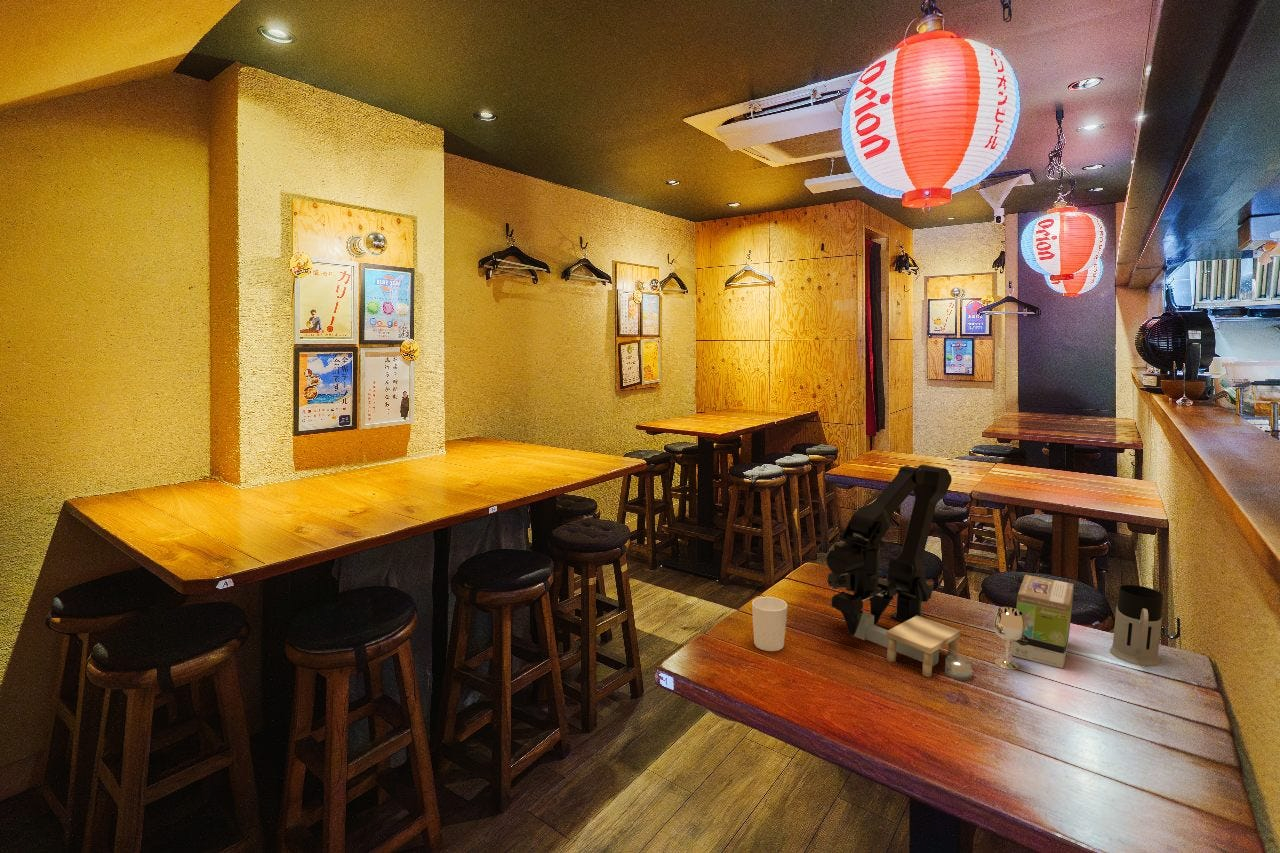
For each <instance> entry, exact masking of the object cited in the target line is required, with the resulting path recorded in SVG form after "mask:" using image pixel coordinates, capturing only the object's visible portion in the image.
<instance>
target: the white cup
mask: <svg viewBox="0 0 1280 853" xmlns="http://www.w3.org/2000/svg"><path fill="white" fill-rule="evenodd" d="M751 605H752V606H751V607H752V608H751V609H752V625H753V626H752V628H753V629H752V630H753V644H754V645H755V647H756V648H757V649H759V650H762V651H766V652H777V651H781V650H782V649H783V648H784V645H785V635H786V629H787V628H786V627H787V617H788V603H787V602H786V601H785V600H783V599H781V598H777V597H773V596H762V597H760V596H759V597H757V598H755V599H753V600H752V603H751Z"/></svg>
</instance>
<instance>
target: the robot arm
mask: <svg viewBox="0 0 1280 853" xmlns="http://www.w3.org/2000/svg"><path fill="white" fill-rule="evenodd" d="M951 484H952V475H951V474H950V472H949V470H948V469H947V468H946V467H940V466H939V467H938V466H935V465H928V464H920V465H918V466H917V467H915V466H908V465H904V466H901V467H900V468H899V469H898V472H897V474H896V475H895V477H894V478H893V479H892V480H891V482H889V483H888V484H887V486H886V487H885V488H884V489H883V490H882V491H881V492H880V494H879V495H878V496H877V497H876V498H875V500H874V501H873V502H871V503H869V504H866V505H864V506H861V507H860V508H859V509H858V510H856V511H855V512H854V513H853V514H852V516H851V517H850V519H849V521H848V523H847V525H846V526H845V528H844V531H843V532H842V535H841V537H840V538H839V540H840V541H841V542H842V543H836V544H834V545H833V549H832V550H830V551H829V552H828V553H827V556H826V560H825V561H826V564H827V567H828V569H829V571H831V572H829V573H827V581H826V583H828V586H830V587H831V588H832V589H839V588H845V590H846V591H847V592H845V591H841V592H839V593H836V594H834V595H833V596H831V598H830V607H832V608H834V609H835V610H837V611H839V612H841V614H842V616H843V618H844V621H845V624H846V627H847V630H848V634H849V636H850V635H851V636H852V635H853V637H855V636H854V635H855V633H856V630H857V628H858V625H859V622H860V619H861V617H862V614H863V611H864V610H863V608H864V602H865V601H866V600H869V602H870V603H869V604H870V606H869V607H870V614H872V615H874V625H877V624H878V622H879V621H880V619H881V617H882V616H883V614H884V612H885V611H886V609H887V608H888V606H889V604H890V603H891V601H892V600H893V599H894V597H895V596H896V595H897V596H896V597H897V598H896V611H895V612H894V613H892V614H890V618H891V619H893V620H896V621H899V622H902V623H903V622H905V621H907V620H909V619H911V618H913V617H915V616H920V617H923V618H926V619H928V617H927V616H926V615H922V608H923V607H922V606H923V603H927V602H929V600H930V599H931V597H932V595H933V594H932V593H933V589H932V588H931V587H930V585H929V584H928V583H927V582H926V576H927V571H926V567H925V565H924V561H923V557H924V554H925V550H926V546H927V542H928V538H929V534H930V531H931V527H932V523H933V519H934V515H935V511H936V507H937V504H938V503H939V502H940V501H941V500H942V499H943V498H944V497H945V496H946V495H947V493H948V491H949V488H950V486H951ZM912 491H913V495H914V497H915V498H914V502H913V505H912V506H913V507H912V510H911V514H910V518H909V521H908V522H909V523H908V525H907V530H906V534H905V536H904V541H903V545H902V548H901V552H900V554H899V555H898V556H897V557H896V558H891V559H890V560H889V563H888V564H889V565H888V569H887V570H886V579H884V578H882V576H883V571H882V570H879V569H880V548H881V547H882V548H883V547H885V546H886V542H885V541H884V540H882V539H883V538H884V536H885V534H886V533H887V531H888V530H889V528H890V526H891V522H890V521H891V517H892V516H893V514H894V513H895V512H896V511H897V509H898V508H899V507H900V506H901V504H902V503H903V502H904V501H905V500H906V499H907V498H908V496H910V494H911V493H912ZM853 535H854V536H853ZM880 577H881V578H880ZM848 591H849V592H853V594H851V593H848Z"/></svg>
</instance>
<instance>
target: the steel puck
mask: <svg viewBox="0 0 1280 853" xmlns="http://www.w3.org/2000/svg"><path fill="white" fill-rule="evenodd" d="M972 671H973V662H972V660H970V659H969V658H967V657H964V656H962V655H958V654H957V655H949V656H948V655H946V656H945V662H944V674H946V675H947V676H948V677H950V678H951V679H955V680H957V681H968V680H971V679H972V673H973V672H972Z"/></svg>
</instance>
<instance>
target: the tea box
mask: <svg viewBox="0 0 1280 853" xmlns="http://www.w3.org/2000/svg"><path fill="white" fill-rule="evenodd" d="M1074 585H1075V584H1074V583H1072V582H1066V581H1061V580H1056V579H1052V578H1046V577H1042V576H1041V577H1040V576H1035V575H1029V574H1025V575H1024V576H1023V579H1022V582H1021V585H1020V587H1019V589H1018V593H1017V597H1016V599H1017V600H1016V607H1015V609H1018V610H1020V611H1021V612H1022V613H1023V616H1024V622H1025V632H1024V635H1023V637H1022V638H1021V639H1019V640H1016V641H1012V646H1011V648H1012V649H1011V655H1012V656H1014V657H1015V658H1016V657H1017V658H1021V659H1023V660H1028V661H1031V662H1036V663H1039V664H1043V665H1045V666H1046V665H1047V666H1051V667H1055V668H1058V669H1063V668H1064V666H1065V663H1066V662H1065V661H1066V656H1067V650H1068V643H1069V636H1070V630H1071V629H1070V628H1071V620H1072V619H1071V618H1072V611H1073V610H1072V609H1073V602H1074V601H1073V600H1074V588H1075V586H1074Z"/></svg>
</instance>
